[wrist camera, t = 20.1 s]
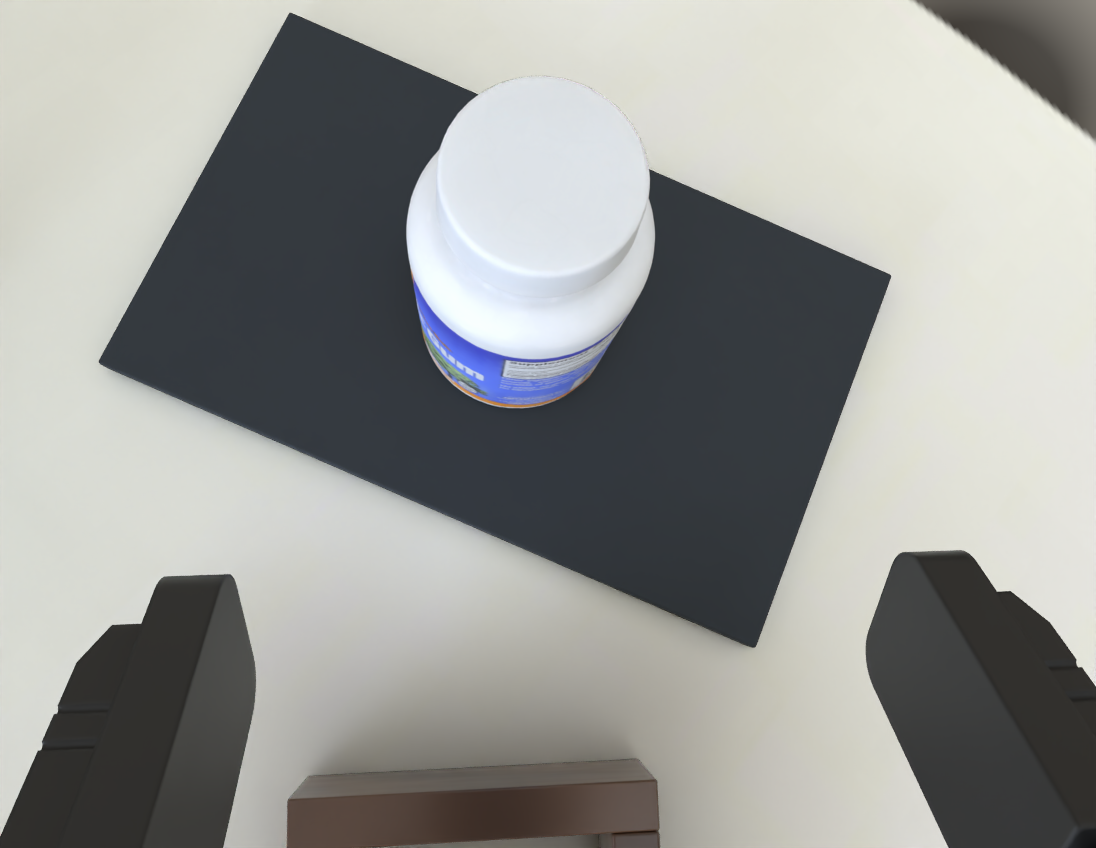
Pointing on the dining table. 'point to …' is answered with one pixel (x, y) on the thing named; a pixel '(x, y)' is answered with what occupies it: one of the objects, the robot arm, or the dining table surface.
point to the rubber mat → (466, 423)
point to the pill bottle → (530, 239)
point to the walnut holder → (477, 805)
